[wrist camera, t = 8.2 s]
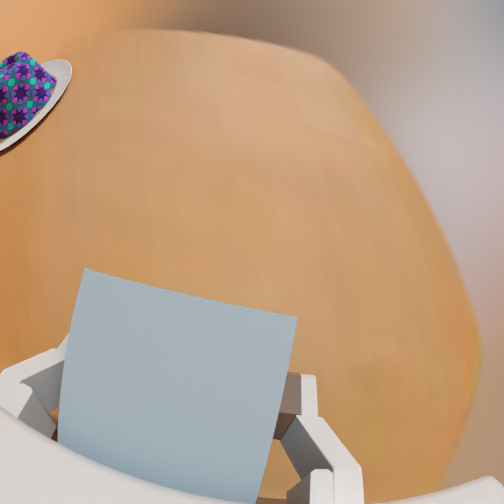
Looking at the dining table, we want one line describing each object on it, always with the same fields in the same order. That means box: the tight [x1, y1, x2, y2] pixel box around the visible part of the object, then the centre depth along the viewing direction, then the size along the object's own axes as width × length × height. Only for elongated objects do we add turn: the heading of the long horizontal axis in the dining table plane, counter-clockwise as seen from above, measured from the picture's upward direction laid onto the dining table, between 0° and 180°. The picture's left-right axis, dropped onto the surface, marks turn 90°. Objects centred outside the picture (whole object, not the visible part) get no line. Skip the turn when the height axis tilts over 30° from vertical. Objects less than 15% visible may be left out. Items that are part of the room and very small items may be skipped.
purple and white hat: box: [0, 52, 72, 151], centre depth 16 cm, size 12×12×5 cm
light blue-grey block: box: [57, 268, 298, 504], centre depth 9 cm, size 5×5×8 cm
